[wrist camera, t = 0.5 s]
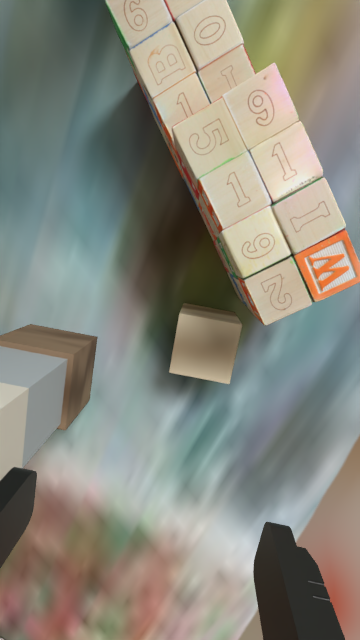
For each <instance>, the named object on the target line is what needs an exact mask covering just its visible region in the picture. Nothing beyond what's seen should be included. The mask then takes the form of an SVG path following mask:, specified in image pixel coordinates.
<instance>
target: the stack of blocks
mask: <svg viewBox="0 0 360 640" xmlns="http://www.w3.org/2000/svg"><path fill="white" fill-rule="evenodd" d="M105 3H106V6H107V8H108V11H109V13H110V16H111V19H112V22H113V24H114V27H115V29H116V32H117V34H118V36H119V38H120V40H121V42H122V44H123V46H124V49H125V51H126V54H127V57H128V59H129V62H130V64H131V66H132V68H133V71H134V74H135V76H136V79H137V81H138V83H139V86H140V88H141V90H142V92H143V94H144V96H145V98H146V100H147V102H148V104H149V106H150V109H151V112H152V114H153V117H154V119H155V121H156V123H157V125H158V127H159V129H160V131H161V134H162V136H163V138H164V140H165V142H166V144H167V146H168V148H169V150H170V153H171V155H172V157H173V159H174V161H175V163H176V165H177V168H178V170H179V172H180V174H181V176H182V178H183V180H184V181H185V182H186V185H187V187H188V189H189V191H190V193H191V195H192V197H193V200H194V202H195V204H196V206H197V208H198V210H199V212H200V214H201V216H202V218H203V220H204V223H205V225H206V227H207V229H208V231H209V233H210V235H211V237H212V239H213V243H214V245H215V248H216V250H217V252H218V254H219V256H220V258H221V260H222V263H223V265H224V267H225V269H226V271H227V274H228V276H229V278H230V281H231V283H232V285H233V287H234V289H235V291H236V293H237V296H238V298H239V299H240V300H241V301H242V303H243V304H245V305H246V306H247V307H248V308H249V310H250V311H251V312H252V314H253V315H254V316H255V317H256V318H258V319H259V320H260V321H261V323H262V324H263V325H265V326H266V325H269V324H271V323H273V322H275V321H277V320H279V319H282V318H284V317H286V316H288V315H290V314H293V313H295V312H297V311H299V310H302V309H304V308H306V307H308V306H310V305H312V302H317V301H320V300H323V299H325V298H327V297H329V296H331V295H334V294H336V293H338V292H340V291H342V290H344V289H346V288H348V287H351V286H353V285H355V284H357V283H359V282H360V262H359V260H358V257H357V255H356V253H355V250H354V247H353V245H352V243H351V240H350V238H349V236H348V233H347V231H346V230H345V226H346V223H345V221H344V219H343V217H342V214H341V212H340V210H339V208H338V205H337V203H336V201H335V198H334V196H333V194H332V192H331V189H330V187H329V185H328V183H327V181H326V179H325V178H324V177H323V176H322V175H323V168H322V166H321V164H320V161H319V159H318V157H317V155H316V153H315V150H314V148H313V146H312V143H311V141H310V139H309V137H308V134H307V132H306V130H305V127H304V125H303V124H302V123H301V122H300V121H299V117H298V113H297V111H296V109H295V107H294V104H293V102H292V100H291V97H290V95H289V93H288V91H287V88H286V86H285V84H284V81H283V79H282V77H281V75H280V73H279V70H278V68H277V65H276V64H275V63H273V64H271V65H270V66H268V67H266V68H265V69H263V70H262V71H260V72H259V73H257V74H256V73H255V71H254V68H253V66H252V64H251V61H250V59H249V57H248V54H247V52H246V49H245V47H244V41H243V38H242V36H241V34H240V31H239V29H238V26H237V24H236V22H235V19H234V17H233V14H232V12H231V10H230V7H229V5H228V3H227V0H105Z"/></svg>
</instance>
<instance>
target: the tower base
mask: <svg viewBox="0 0 360 640" xmlns="http://www.w3.org/2000/svg"><path fill="white" fill-rule="evenodd" d="M96 344H97V337H95V336H90V335H85V334H79V333H74V332H69V331H63V330H58V329H53V328H48V327H42V326H37V325H32V324H30V325H27V326H25V327H22V328H19V329H17V330H14V331H11V332H9V333H6V334H4V335H1V336H0V346H2V347H8V348H13V349H18V350H23V351H28V352H33V353H39V354H44V355H49V356H54V357H59V358H64V359H67V368H66V377H65V386H64V396H63V405H62V414H61V423H60V425H59V426H58V427H57V429H62V430H66V429H67V428H68V426H69V425H70V424H71V423H72V421H73V420H74V419H75V418H76V416H77V415H78V414H79V413H80V411H81V410H82V409H83V408H84V406H85V405H86V404H87V403H88V401H89V399H90V391H91V384H92V376H93V368H94V360H95V352H96Z"/></svg>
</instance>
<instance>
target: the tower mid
mask: <svg viewBox="0 0 360 640" xmlns="http://www.w3.org/2000/svg"><path fill="white" fill-rule="evenodd" d="M66 368H67V359H64V358H59V357H54V356H49V355H44V354H39V353H33V352H28V351H23V350H18V349H13V348H8V347H2V346H0V382H1V383H6V384H11V385H16V386H21V387H26V388H29V393H28V404H27V416H26V427H25V439H24V450H23V462H22V468H23V467H24V466H25V465H26V464H27V462H28V461H29V460H30V459H31V458H32V457H33V455H34V454H35V453H36V452H37V451H38V450H39V448H40V447H41V446H42V445H43V444H44V443H45V441H46V440H47V439H48V438H49V437H50V436H51V434H52V433H53V432H54V431H55V430H56V429H57V427H58V426H59V425H60V423H61V414H62V405H63V396H64V386H65V377H66Z"/></svg>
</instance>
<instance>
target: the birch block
mask: <svg viewBox="0 0 360 640" xmlns="http://www.w3.org/2000/svg"><path fill="white" fill-rule="evenodd" d="M241 329H242V324H241V322H240V320H239V319H238V317H237V315H236V314H235V312H231V311H225V310H220V309H214V308H209V307H203V306H198V305H192V304H187V303H183V306H182V308H181V311H180V313H179V319H178V324H177V330H176V336H175V341H174V347H173V353H172V358H171V364H170V370H169V373H174V374H179V375H184V376H190V377H195V378H200V379H205V380H211V381H216V382H221V383H226V384H229V383H230V379H231V374H232V370H233V365H234V361H235V356H236V351H237V347H238V342H239V338H240V333H241Z"/></svg>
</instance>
